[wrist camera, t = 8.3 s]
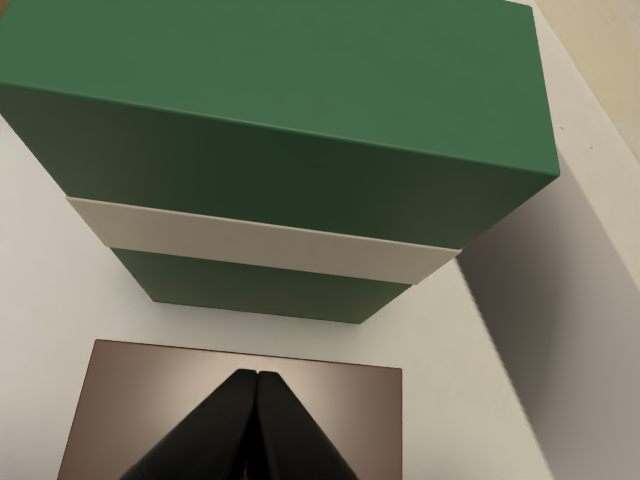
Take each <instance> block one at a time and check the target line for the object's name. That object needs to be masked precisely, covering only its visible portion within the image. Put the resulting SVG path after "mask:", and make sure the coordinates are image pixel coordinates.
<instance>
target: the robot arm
mask: <svg viewBox="0 0 640 480" xmlns="http://www.w3.org/2000/svg"><path fill="white" fill-rule="evenodd" d="M246 462H247V463H246ZM245 469H246V474H245ZM244 476H245V480H361V479H358V475H357V474H356V473H355V472H354V470H353V469H352V468H351V466H350V465H349V464H348V462H347V461H346V460H345V459H344V457H343V456H342V455H341V453H340V452H339V451H338V450H337V448H336V447H335V446H334V444H333V443H332V442H331V440H330V439H329V438H328V437H327V435H326V434H325V433H324V431H323V430H322V429H321V427H320V426H319V425H318V424H317V422H316V421H315V420H314V418H313V417H312V416H311V415H310V413H309V412H308V411H307V409H306V408H305V407H304V405H303V404H302V403H301V402H300V400H299V399H298V398H297V396H296V395H295V394H294V393H293V391H292V390H291V389H290V387H289V386H288V385H287V383H286V382H285V381H284V380H283V378H282V377H281V376H280V374H279V373H277V372H273V371H259V372H258V374H257V371H256V370H251V369H237V370H236V371H235V372H234V373H232V374H231V375H230V376H229V377H228V378H227V379H226V380H225V381H224V382H223V383H222V384H221V385H219V386H218V387H217V388H216V389H215V390H214V391H213V392H212V393H211V394H210V395H209V396H208V397H206V398H205V399H204V400H203V401H202V402H201V403H200V404H199V405H198V406H197V407H196V408H195V409H193V410H192V411H191V412H190V413H189V414H188V415H187V416H186V417H185V418H184V419H183V420H181V421H180V422H179V423H178V424H177V425H176V426H175V427H174V428H173V429H172V430H171V431H170V432H168V433H167V434H166V435H165V436H164V437H163V438H162V439H161V440H160V441H159V442H158V443H157V444H155V445H154V446H153V447H152V448H151V449H150V450H149V451H148V452H147V453H146V454H145V455H143V456H142V457H141V458H140V459H139V460H138V461H137V462H136V463H135V465H132V466H131V467H129V468H128V469H127V470H126V471H125V472H124V473H123V474H122V475H121V476H120V477H119V478H117V479H116V480H244Z"/></svg>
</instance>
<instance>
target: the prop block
mask: <svg viewBox="0 0 640 480" xmlns="http://www.w3.org/2000/svg"><path fill="white" fill-rule="evenodd" d="M237 369H251V370H256V371H257V374H258V372H259V371H273V372H277V373H279V374H280V376H281V377H282V378H283V380H284V381H285V382H286V383H287V385H288V386H289V387H290V389H291V390H292V391H293V393H294V394H295V395H296V396H297V398H298V399H299V400H300V402H301V403H302V404H303V405H304V407H305V408H306V409H307V411H308V412H309V413H310V415H311V416H312V417H313V418H314V420H315V421H316V422H317V424H318V425H319V426H320V427H321V429H322V430H323V431H324V433H325V434H326V435H327V437H328V438H329V439H330V440H331V442H332V443H333V444H334V446H335V447H336V448H337V450H338V451H339V452H340V453H341V455H342V456H343V457H344V459H345V460H346V461H347V462H348V464H349V465H350V466H351V468H352V469H353V470H354V472H355V473H356V474H357V475H358V479H361V480H402V369H401V368H391V367H381V366H370V365H360V364H350V363H339V362H329V361H319V360H308V359H298V358H288V357H277V356H267V355H257V354H246V353H236V352H226V351H215V350H205V349H194V348H184V347H174V346H163V345H153V344H143V343H132V342H122V341H112V340H101V339H96V340H95V343H94V347H93V350H92V354H91V357H90V361H89V365H88V368H87V372H86V376H85V379H84V383H83V387H82V390H81V394H80V397H79V401H78V405H77V408H76V412H75V416H74V419H73V423H72V427H71V430H70V434H69V437H68V441H67V445H66V448H65V452H64V456H63V459H62V463H61V467H60V470H59V474H58V477H57V480H116V479H117V478H119V477H120V476H121V475H122V474H123V473H124V472H125V471H126V470H127V469H128V468H129V467H131V466H132V465H135V463H136V462H137V461H138V460H139V459H140V458H141V457H142V456H143V455H145V454H146V453H147V452H148V451H149V450H150V449H151V448H152V447H153V446H154V445H155V444H157V443H158V442H159V441H160V440H161V439H162V438H163V437H164V436H165V435H166V434H167V433H168V432H170V431H171V430H172V429H173V428H174V427H175V426H176V425H177V424H178V423H179V422H180V421H181V420H183V419H184V418H185V417H186V416H187V415H188V414H189V413H190V412H191V411H192V410H193V409H195V408H196V407H197V406H198V405H199V404H200V403H201V402H202V401H203V400H204V399H205V398H206V397H208V396H209V395H210V394H211V393H212V392H213V391H214V390H215V389H216V388H217V387H218V386H219V385H221V384H222V383H223V382H224V381H225V380H226V379H227V378H228V377H229V376H230V375H231V374H232V373H234V372H235V371H236V370H237ZM246 463H247V462H246ZM245 474H246V469H245ZM244 480H245V476H244Z"/></svg>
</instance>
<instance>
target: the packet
mask: <svg viewBox="0 0 640 480" xmlns="http://www.w3.org/2000/svg"><path fill="white" fill-rule="evenodd" d="M0 114H1V115H2V117H3V118H4V119H5V120H6V122H7V123H8V124H9V125H10V126H11V128H12V129H13V130H14V131H15V133H16V134H17V135H18V136H19V137H20V139H21V140H22V141H23V142H24V144H25V145H26V146H27V147H28V148H29V150H30V151H31V152H32V153H33V155H34V156H35V157H36V158H37V159H38V161H39V162H40V163H41V164H42V166H43V167H44V168H45V169H46V170H47V172H48V173H49V174H50V175H51V177H52V178H53V179H54V180H55V181H56V183H57V184H58V185H59V186H60V188H61V189H62V190H63V191H64V192H65V194H66V199H67V201H68V202H69V203H70V204H71V205H72V207H73V208H74V209H75V210H76V211H77V213H78V214H79V215H80V216H81V217H82V219H83V220H84V221H85V222H86V223H87V225H88V226H89V227H90V228H91V229H92V231H93V232H94V233H95V234H96V235H97V237H98V238H99V239H100V240H101V241H102V243H103V244H104V245H105V246H107V247H109V248H110V249H111V250H112V251H113V252H114V254H115V255H116V256H117V257H118V259H119V260H120V261H121V262H122V263H123V265H124V266H125V267H126V268H127V270H128V271H129V272H130V273H131V274H132V276H133V277H134V278H135V279H136V281H137V282H138V283H139V284H140V285H141V287H142V288H143V289H144V290H145V292H146V293H147V294H148V295H149V296H150V298H151V299H152V300H153V301H156V302H165V303H174V304H183V305H192V306H201V307H210V308H220V309H229V310H238V311H247V312H256V313H265V314H275V315H284V316H293V317H302V318H311V319H320V320H330V321H339V322H348V323H357V324H361V323H362V322H364V321H365V320H366V319H368V318H369V317H370V316H372V315H373V314H374V313H376V312H377V311H378V310H380V309H381V308H383V307H384V306H385V305H387V304H388V303H389V302H391V301H392V300H393V299H395V298H396V297H397V296H399V295H400V294H401V293H403V292H404V291H405V290H407V289H408V288H410V287H411V286H412V285H416V284H418V283H419V282H421V281H422V280H424V279H425V278H426V277H428V276H429V275H430V274H432V273H433V272H435V271H436V270H437V269H439V268H440V267H441V266H443V265H444V264H446V263H447V262H448V261H450V260H451V259H452V258H454V257H455V256H457V255H458V254H459V253H461V251H462V248H463V247H465V246H466V245H467V244H469V243H470V242H471V241H473V240H474V239H476V238H477V237H478V236H480V235H481V234H482V233H484V232H485V231H486V230H488V229H489V228H490V227H492V226H493V225H494V224H496V223H497V222H498V221H500V220H501V219H502V218H504V217H505V216H507V215H508V214H509V213H511V212H512V211H513V210H515V209H516V208H517V207H519V206H520V205H521V204H523V203H524V202H525V201H527V200H528V199H529V198H531V197H532V196H534V195H535V194H536V193H538V192H539V191H540V190H542V189H543V188H544V187H546V186H547V185H548V184H550V183H551V182H552V181H554V180H555V179H556V178H558V177H559V175H560V168H559V162H558V157H557V151H556V145H555V139H554V133H553V127H552V122H551V116H550V110H549V104H548V98H547V92H546V87H545V81H544V75H543V69H542V63H541V58H540V52H539V46H538V40H537V34H536V29H535V23H534V17H533V11H532V7H531V6H528V5H523V4H519V3H514V2H510V1H505V0H10V2H9V4H8V6H7V8H6V10H5V12H4V14H3V16H2V18H1V20H0Z"/></svg>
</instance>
